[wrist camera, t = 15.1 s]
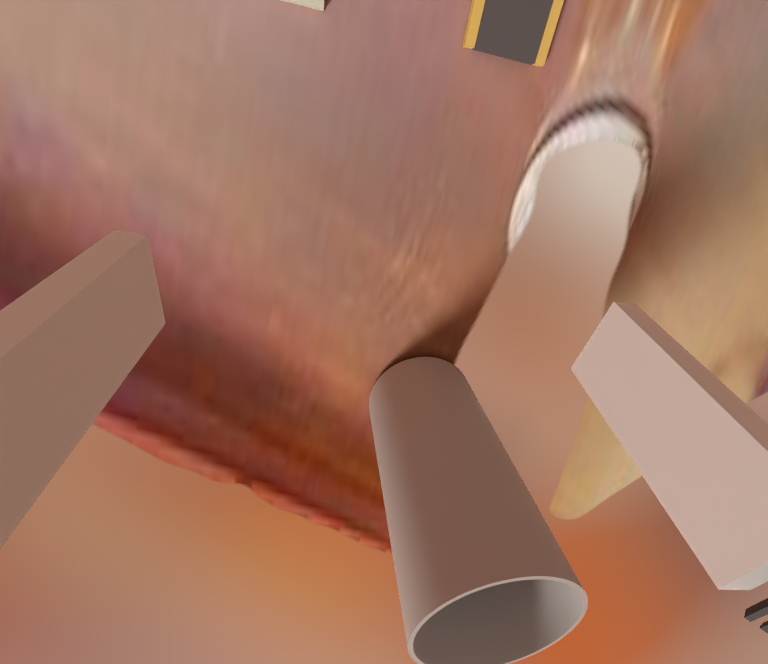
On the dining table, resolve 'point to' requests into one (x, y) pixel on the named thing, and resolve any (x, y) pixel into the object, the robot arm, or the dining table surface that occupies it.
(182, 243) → the dining table surface
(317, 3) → the pad
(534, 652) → the cylinder vase
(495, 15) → the trap mat
